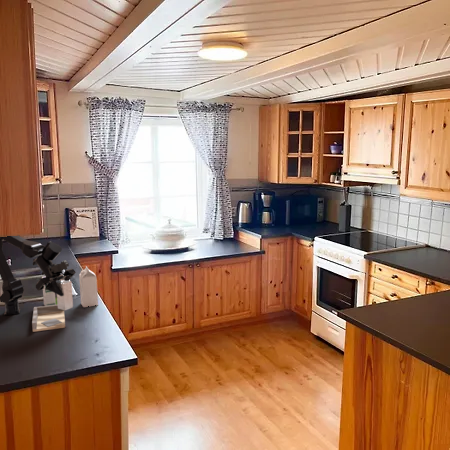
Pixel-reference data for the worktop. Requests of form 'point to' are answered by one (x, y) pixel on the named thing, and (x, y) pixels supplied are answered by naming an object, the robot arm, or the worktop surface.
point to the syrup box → (49, 297)
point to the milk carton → (88, 288)
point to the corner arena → (48, 318)
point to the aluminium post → (65, 295)
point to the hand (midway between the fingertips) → (66, 294)
